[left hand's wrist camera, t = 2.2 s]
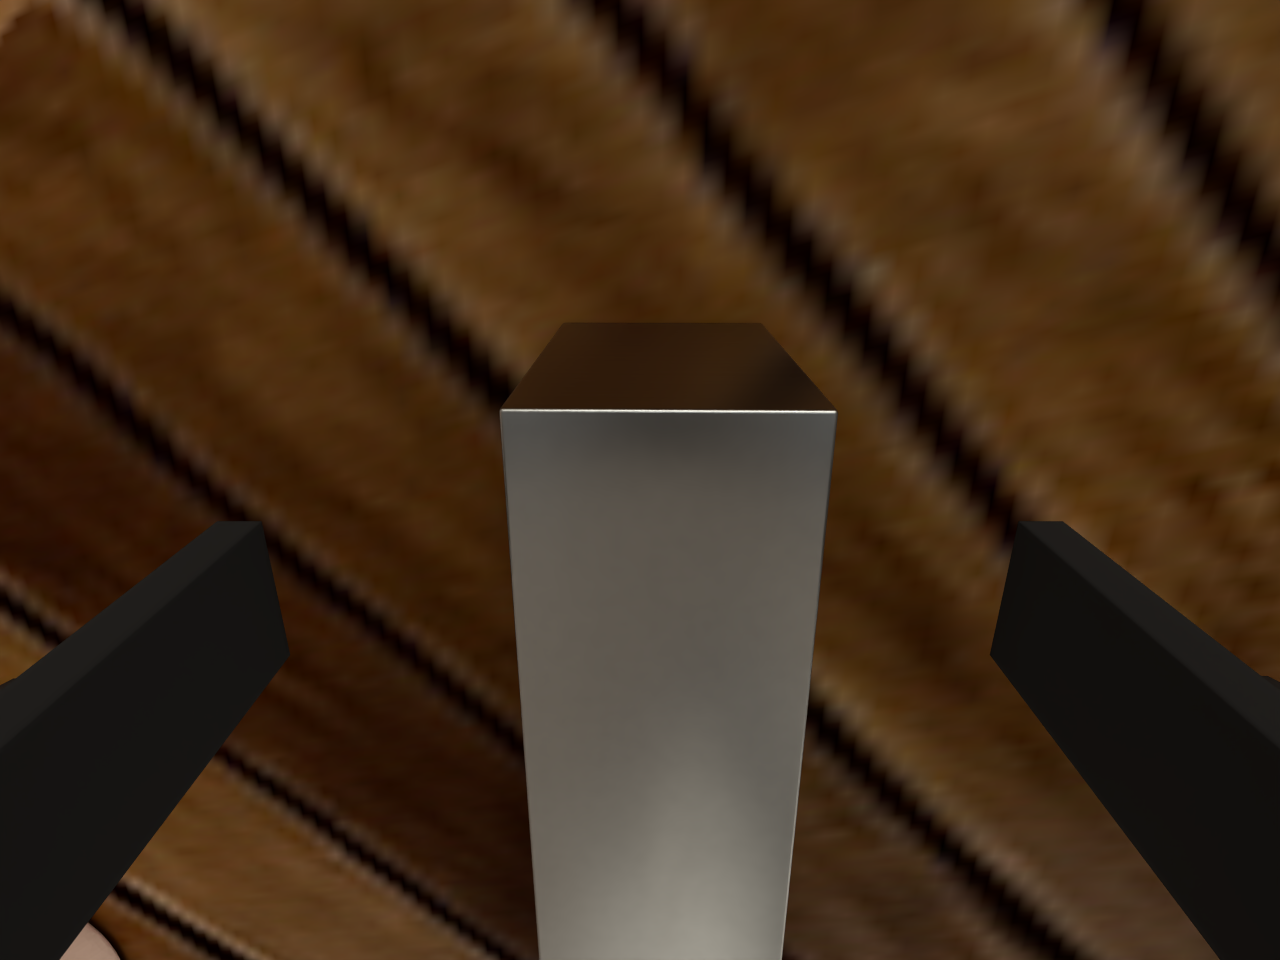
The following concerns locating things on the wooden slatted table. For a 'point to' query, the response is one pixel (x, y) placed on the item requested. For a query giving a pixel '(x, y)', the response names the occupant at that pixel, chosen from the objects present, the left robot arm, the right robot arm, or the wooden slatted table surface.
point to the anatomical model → (90, 946)
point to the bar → (664, 631)
